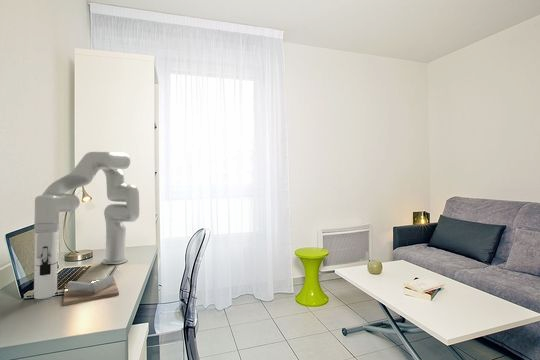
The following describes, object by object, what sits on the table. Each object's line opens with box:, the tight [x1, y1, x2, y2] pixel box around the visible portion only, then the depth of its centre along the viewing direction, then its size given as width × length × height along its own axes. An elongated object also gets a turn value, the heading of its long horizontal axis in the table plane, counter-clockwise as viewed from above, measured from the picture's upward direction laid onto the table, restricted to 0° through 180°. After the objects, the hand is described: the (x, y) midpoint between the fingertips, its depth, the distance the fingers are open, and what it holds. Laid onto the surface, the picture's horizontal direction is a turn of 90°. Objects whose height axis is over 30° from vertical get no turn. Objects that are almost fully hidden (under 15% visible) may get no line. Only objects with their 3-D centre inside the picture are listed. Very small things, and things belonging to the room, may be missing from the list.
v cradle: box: [63, 274, 120, 306], centre depth 118 cm, size 20×18×5 cm
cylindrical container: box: [33, 230, 59, 300], centre depth 113 cm, size 7×7×25 cm
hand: (46, 271), depth 113 cm, fingers open, 7 cm apart
